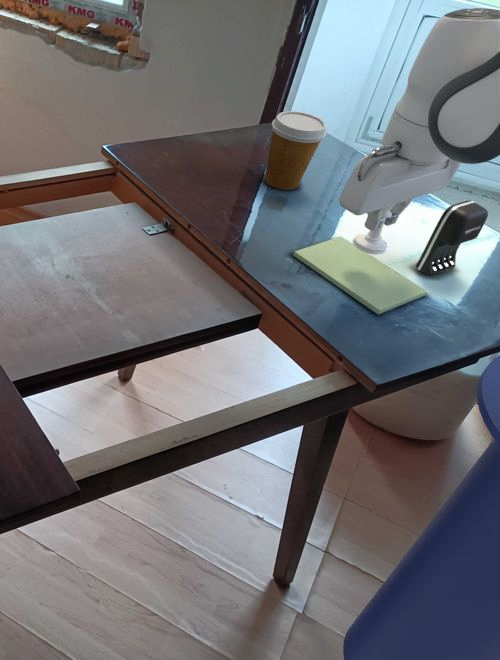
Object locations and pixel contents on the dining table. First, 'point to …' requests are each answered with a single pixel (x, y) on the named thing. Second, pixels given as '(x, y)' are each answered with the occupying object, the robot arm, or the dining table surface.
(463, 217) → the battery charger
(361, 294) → the mat
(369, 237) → the chess piece
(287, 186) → the disposable coffee cup
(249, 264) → the dining table surface
